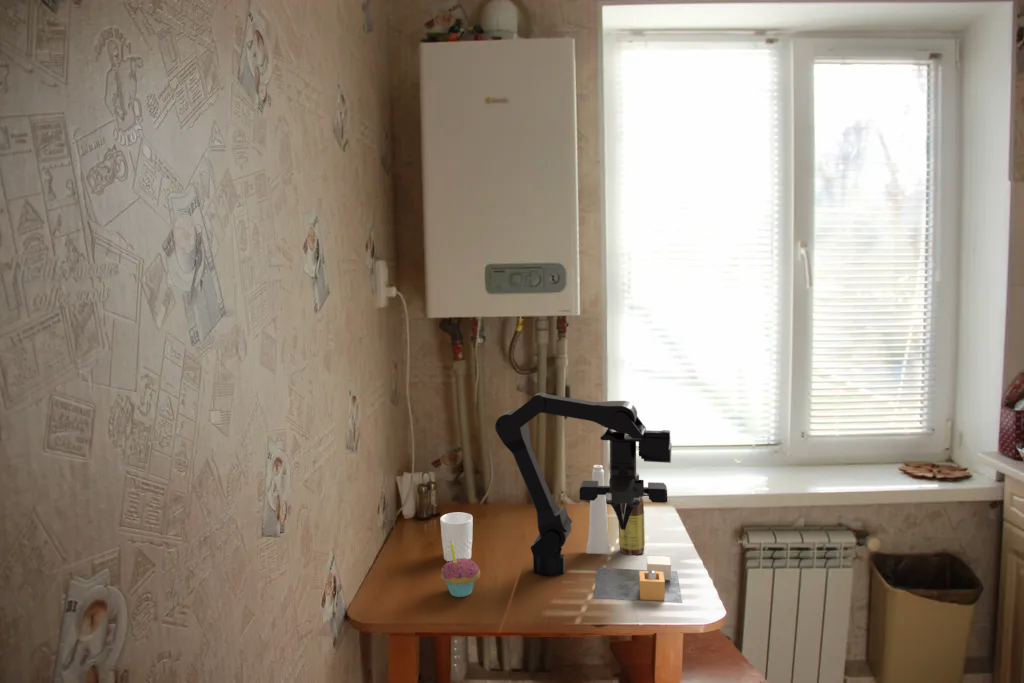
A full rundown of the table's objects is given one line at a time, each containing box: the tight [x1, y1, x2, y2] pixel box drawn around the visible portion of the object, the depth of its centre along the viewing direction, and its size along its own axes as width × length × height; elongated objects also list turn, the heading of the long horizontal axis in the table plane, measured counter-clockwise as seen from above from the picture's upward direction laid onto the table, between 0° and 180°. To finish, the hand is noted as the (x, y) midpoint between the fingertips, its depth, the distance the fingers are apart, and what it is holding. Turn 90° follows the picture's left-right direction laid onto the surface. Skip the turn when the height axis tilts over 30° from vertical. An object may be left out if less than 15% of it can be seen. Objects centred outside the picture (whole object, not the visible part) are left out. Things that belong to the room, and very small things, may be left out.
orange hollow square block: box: [639, 571, 665, 601], centre depth 150 cm, size 5×5×4 cm
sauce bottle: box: [618, 471, 646, 556], centre depth 174 cm, size 7×6×20 cm
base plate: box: [593, 567, 683, 604], centre depth 155 cm, size 18×15×6 cm
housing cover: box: [646, 555, 672, 580], centre depth 159 cm, size 5×4×3 cm
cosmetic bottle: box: [585, 464, 612, 555], centre depth 174 cm, size 6×6×22 cm
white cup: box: [439, 511, 474, 562], centre depth 174 cm, size 8×8×10 cm
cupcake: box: [440, 540, 481, 598], centre depth 155 cm, size 9×8×12 cm
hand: (623, 529), depth 157 cm, fingers closed
